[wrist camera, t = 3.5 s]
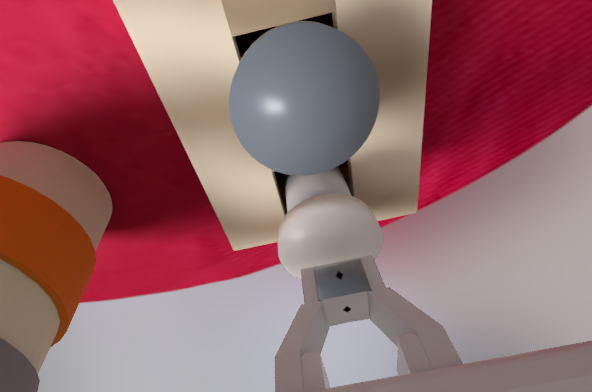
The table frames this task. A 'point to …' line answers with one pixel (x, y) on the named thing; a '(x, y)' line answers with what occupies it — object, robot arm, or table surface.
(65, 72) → the table surface
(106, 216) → the reusable coffee cup
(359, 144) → the plunger middle
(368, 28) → the wooden peg holder
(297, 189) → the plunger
